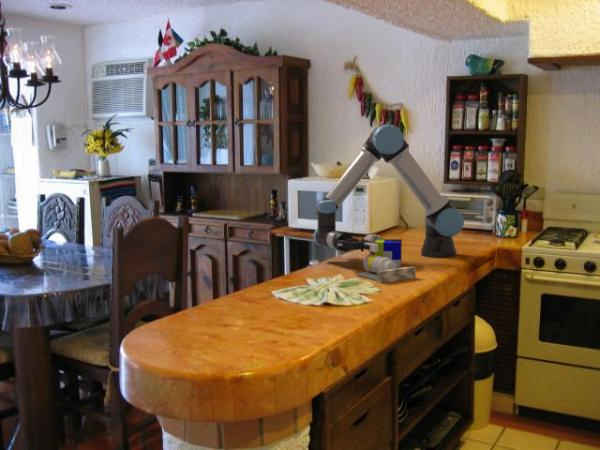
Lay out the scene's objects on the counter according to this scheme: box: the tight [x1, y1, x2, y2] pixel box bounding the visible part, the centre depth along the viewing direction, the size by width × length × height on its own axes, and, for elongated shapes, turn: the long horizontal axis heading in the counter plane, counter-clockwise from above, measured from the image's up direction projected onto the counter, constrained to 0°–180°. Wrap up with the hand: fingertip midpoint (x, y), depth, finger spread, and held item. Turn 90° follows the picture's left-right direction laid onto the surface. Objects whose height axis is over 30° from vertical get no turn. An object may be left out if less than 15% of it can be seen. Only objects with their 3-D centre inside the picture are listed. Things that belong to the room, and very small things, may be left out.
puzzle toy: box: [374, 238, 403, 268], centre depth 248 cm, size 10×10×10 cm
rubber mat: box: [355, 271, 377, 282], centre depth 227 cm, size 14×14×1 cm
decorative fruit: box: [363, 233, 383, 255], centre depth 276 cm, size 9×8×10 cm
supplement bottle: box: [363, 253, 396, 273], centre depth 228 cm, size 7×7×13 cm
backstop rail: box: [376, 265, 416, 284], centre depth 220 cm, size 16×2×4 cm, turn 121°
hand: (376, 248), depth 229 cm, fingers closed
